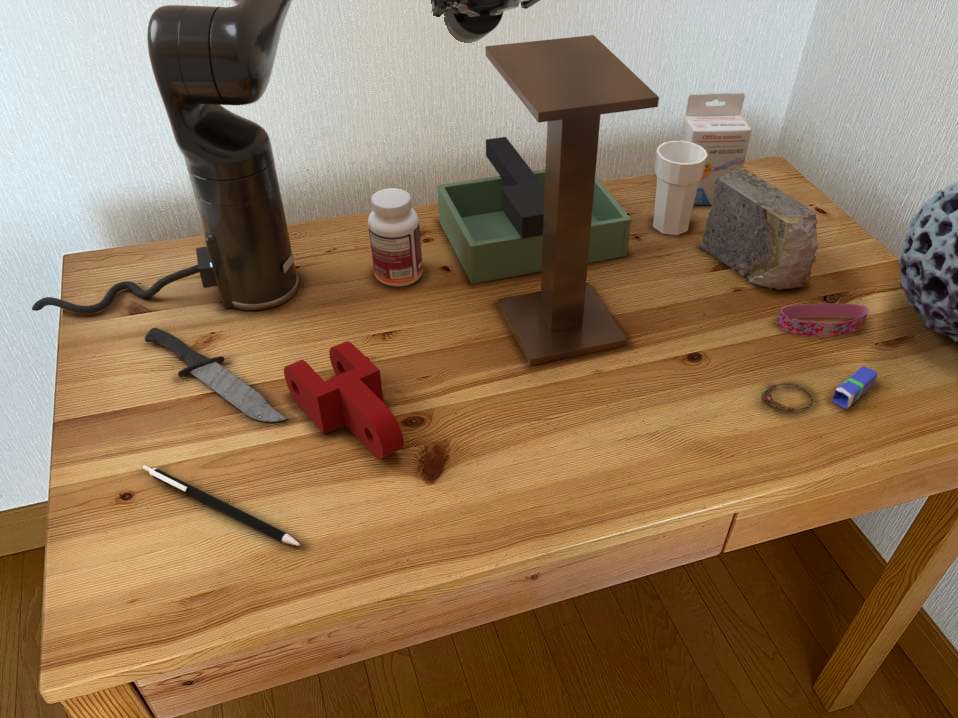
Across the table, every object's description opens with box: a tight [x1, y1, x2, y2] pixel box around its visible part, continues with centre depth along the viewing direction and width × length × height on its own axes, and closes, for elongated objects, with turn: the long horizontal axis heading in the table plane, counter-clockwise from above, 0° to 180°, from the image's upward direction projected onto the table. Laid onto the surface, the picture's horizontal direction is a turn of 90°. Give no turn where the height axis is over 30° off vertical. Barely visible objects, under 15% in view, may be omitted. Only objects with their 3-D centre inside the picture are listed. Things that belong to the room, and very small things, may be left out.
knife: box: [144, 327, 288, 423], centre depth 94 cm, size 22×1×5 cm
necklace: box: [760, 383, 813, 413], centre depth 94 cm, size 4×6×1 cm, turn 110°
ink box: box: [679, 92, 752, 206], centre depth 121 cm, size 8×5×15 cm, turn 98°
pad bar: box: [485, 136, 545, 239], centre depth 114 cm, size 8×22×3 cm, turn 21°
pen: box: [142, 465, 301, 547], centre depth 81 cm, size 1×19×1 cm
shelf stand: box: [485, 34, 660, 367], centre depth 94 cm, size 12×16×30 cm
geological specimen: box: [699, 168, 819, 291], centre depth 110 cm, size 11×6×15 cm
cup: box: [652, 140, 708, 236], centre depth 117 cm, size 7×7×11 cm
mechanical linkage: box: [283, 340, 405, 460], centre depth 88 cm, size 16×7×5 cm, turn 39°
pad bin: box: [437, 168, 632, 285], centre depth 115 cm, size 22×16×6 cm
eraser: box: [832, 365, 878, 410], centre depth 95 cm, size 2×6×2 cm
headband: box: [776, 303, 870, 338], centre depth 104 cm, size 11×4×2 cm, turn 94°
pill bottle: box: [367, 187, 424, 287], centre depth 106 cm, size 6×6×11 cm
